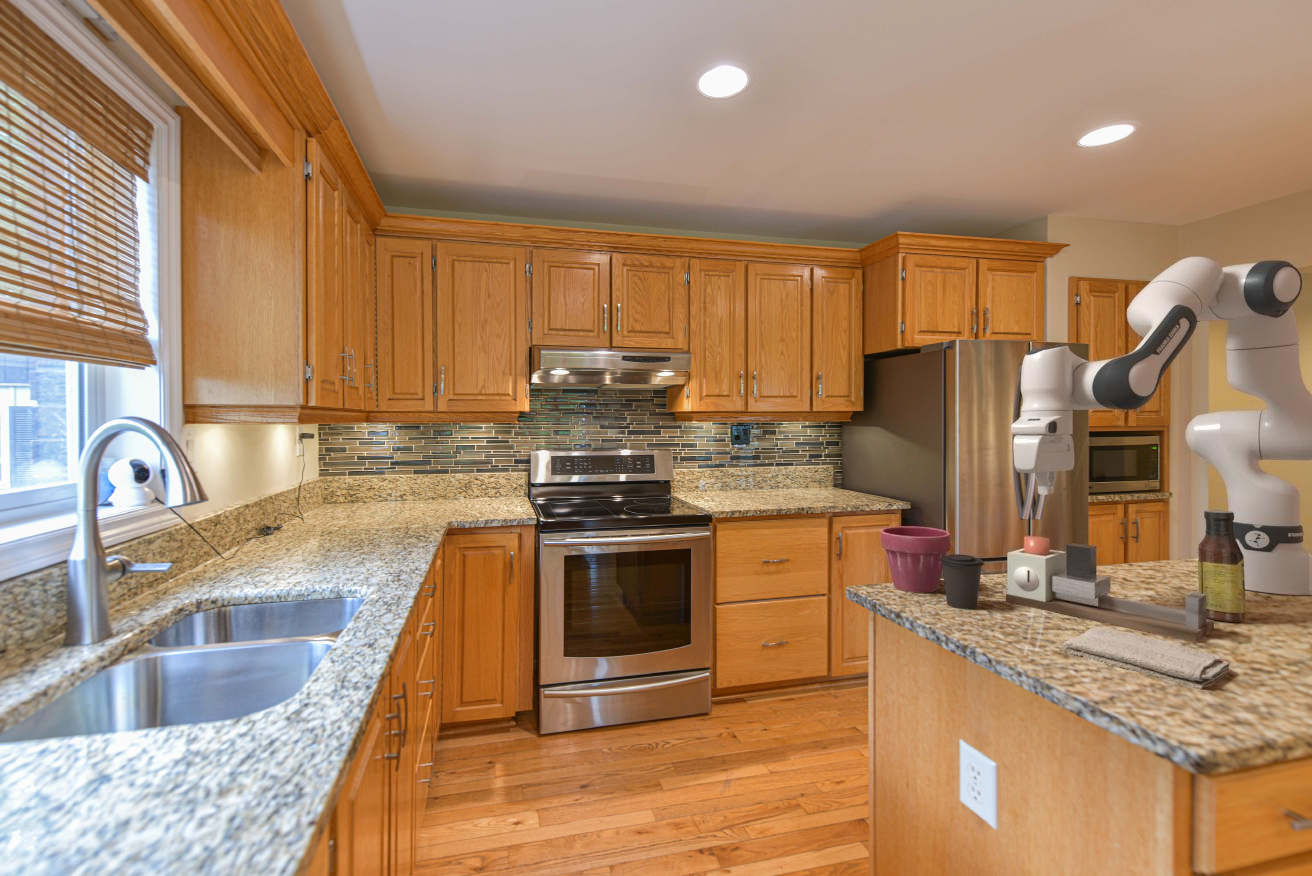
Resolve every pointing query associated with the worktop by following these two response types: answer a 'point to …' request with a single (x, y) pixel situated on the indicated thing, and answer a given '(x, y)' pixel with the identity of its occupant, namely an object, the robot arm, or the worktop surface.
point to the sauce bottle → (1221, 569)
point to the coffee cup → (961, 580)
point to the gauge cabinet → (1033, 573)
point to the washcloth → (1149, 656)
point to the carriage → (1081, 577)
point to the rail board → (1135, 614)
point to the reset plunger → (1037, 545)
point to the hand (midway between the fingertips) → (1045, 494)
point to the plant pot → (915, 556)
